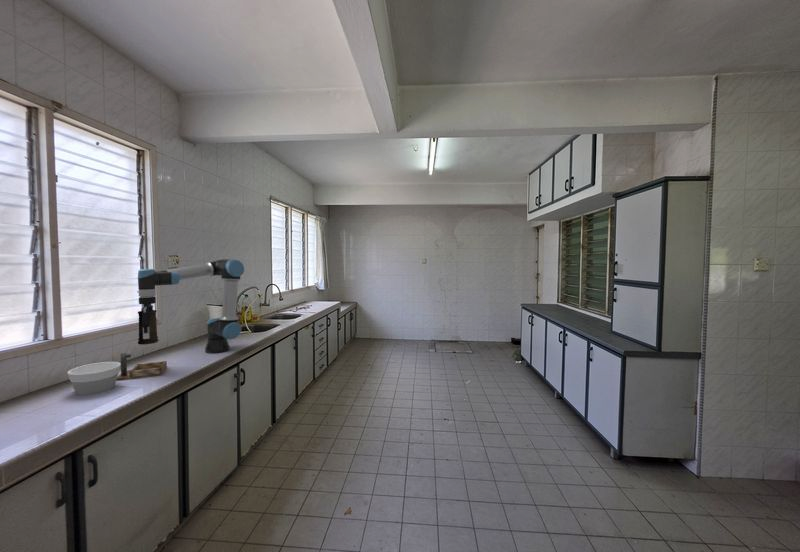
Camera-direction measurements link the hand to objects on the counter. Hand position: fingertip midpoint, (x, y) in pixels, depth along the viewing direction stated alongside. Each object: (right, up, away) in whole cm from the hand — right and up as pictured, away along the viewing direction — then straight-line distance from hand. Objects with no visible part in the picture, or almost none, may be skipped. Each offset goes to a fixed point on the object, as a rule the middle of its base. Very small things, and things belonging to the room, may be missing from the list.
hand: (148, 336), depth 181 cm
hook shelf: (-3, -21, 0) cm, 21 cm away
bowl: (-9, -22, -22) cm, 32 cm away
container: (0, -3, 0) cm, 3 cm away
